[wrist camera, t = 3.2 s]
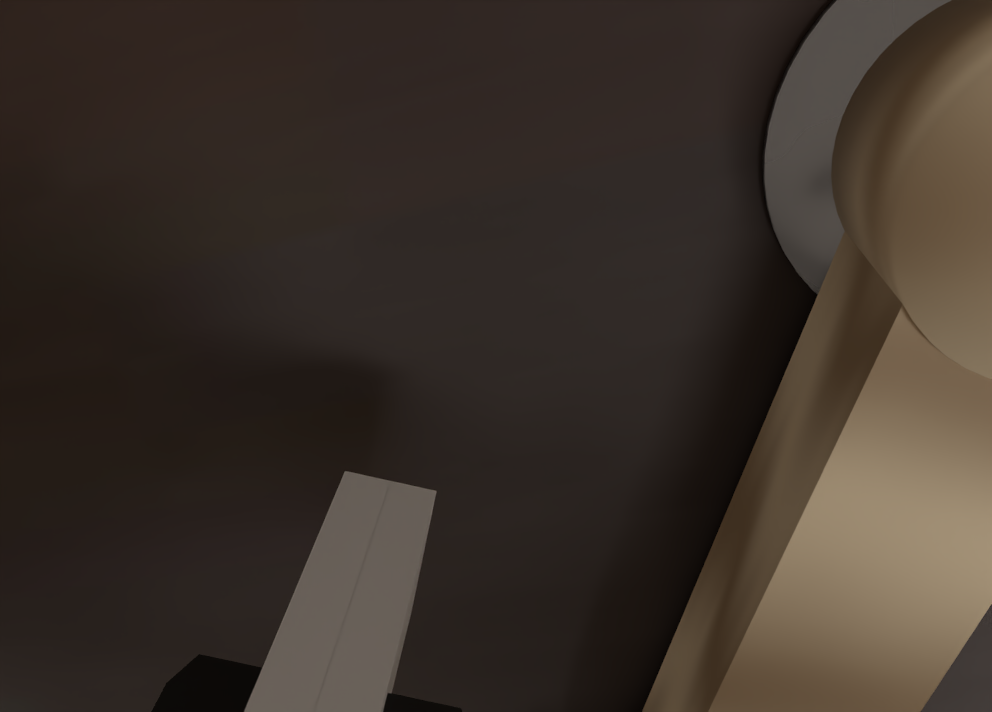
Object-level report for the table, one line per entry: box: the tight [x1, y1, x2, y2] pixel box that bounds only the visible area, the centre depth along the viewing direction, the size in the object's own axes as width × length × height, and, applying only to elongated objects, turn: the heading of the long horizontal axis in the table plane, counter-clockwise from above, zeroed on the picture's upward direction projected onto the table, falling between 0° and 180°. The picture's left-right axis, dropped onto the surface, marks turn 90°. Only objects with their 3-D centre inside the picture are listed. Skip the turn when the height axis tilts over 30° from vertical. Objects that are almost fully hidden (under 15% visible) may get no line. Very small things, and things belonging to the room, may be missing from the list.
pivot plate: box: [762, 0, 951, 294], centre depth 14 cm, size 7×7×1 cm
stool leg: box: [642, 0, 992, 712], centre depth 15 cm, size 20×5×4 cm, turn 169°
